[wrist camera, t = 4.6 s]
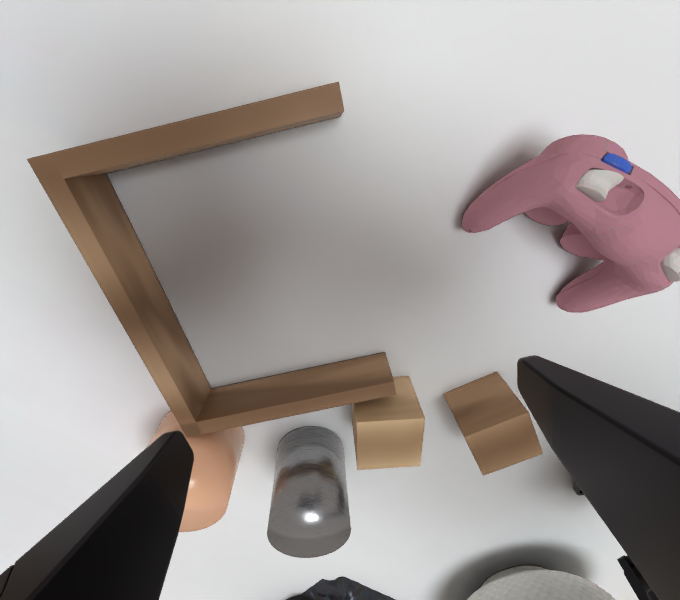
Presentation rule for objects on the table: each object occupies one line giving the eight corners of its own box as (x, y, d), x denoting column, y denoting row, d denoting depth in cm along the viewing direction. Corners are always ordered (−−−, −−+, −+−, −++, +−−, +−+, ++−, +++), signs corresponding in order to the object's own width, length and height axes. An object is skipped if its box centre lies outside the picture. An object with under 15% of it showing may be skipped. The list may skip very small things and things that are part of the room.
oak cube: (405, 418, 25) (420, 465, 21) (352, 422, 25) (357, 469, 21) (408, 375, 23) (424, 418, 19) (351, 378, 23) (356, 422, 19)
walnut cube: (510, 408, 25) (542, 453, 21) (460, 428, 25) (483, 475, 22) (496, 370, 23) (528, 412, 20) (442, 392, 24) (464, 437, 20)
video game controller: (588, 255, 22) (747, 241, 15) (559, 316, 21) (711, 330, 14) (483, 159, 19) (622, 89, 12) (446, 226, 18) (570, 191, 11)
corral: (387, 364, 22) (396, 394, 20) (202, 402, 23) (186, 437, 20) (335, 92, 16) (338, 81, 13) (76, 157, 16) (26, 159, 13)
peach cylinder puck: (254, 455, 25) (240, 522, 21) (179, 469, 26) (149, 539, 21) (228, 396, 23) (206, 457, 18) (145, 412, 23) (102, 476, 19)
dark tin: (350, 464, 26) (359, 546, 21) (290, 480, 27) (284, 565, 21) (332, 418, 24) (337, 496, 19) (267, 436, 25) (254, 517, 19)
